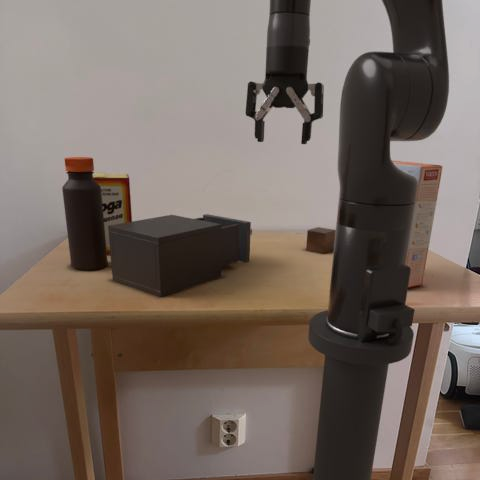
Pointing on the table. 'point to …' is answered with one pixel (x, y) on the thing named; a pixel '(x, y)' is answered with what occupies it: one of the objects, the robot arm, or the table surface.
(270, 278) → the table surface
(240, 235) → the drawer
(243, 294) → the table surface
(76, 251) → the bottle
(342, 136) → the robot arm
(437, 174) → the cracker box
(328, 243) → the block
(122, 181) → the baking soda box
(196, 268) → the cabinet
